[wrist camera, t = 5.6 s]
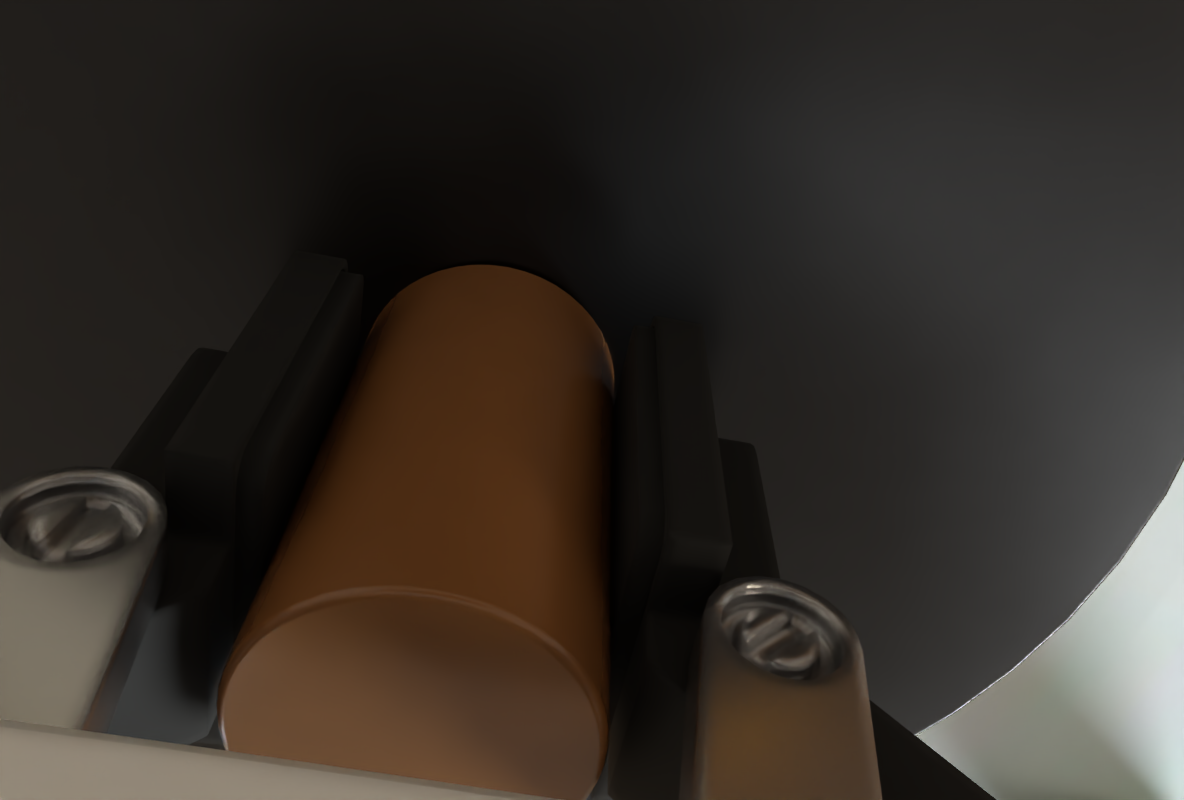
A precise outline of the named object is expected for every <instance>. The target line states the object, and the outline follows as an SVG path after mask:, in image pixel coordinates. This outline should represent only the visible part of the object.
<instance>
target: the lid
mask: <svg viewBox="0 0 1184 800" xmlns="http://www.w3.org/2000/svg"><path fill="white" fill-rule="evenodd" d="M296 250H299V251H305V252H310V253H316V254H321V255H327V256H332V257H338V258H343V259H346V260H347V263H348V272H349V273H354V274H360V275H363V278H364V288H363V300H362V312H361V324H360V335H359V347H358V359H357V362H356V365H355V367H354V369H353V372H352V374H351V376H350V379H349V381H348V383H347V385H346V388H345V390H344V392H343V395H342V397H341V399H340V402H339V404H338V406H337V408H336V411H335V413H334V415H333V418H332V420H331V422H330V425H329V427H328V429H327V431H326V434H325V436H324V438H323V441H322V443H321V445H320V448H319V450H318V452H317V454H316V457H315V459H314V461H313V464H312V466H311V468H310V471H309V473H308V475H307V477H306V480H305V482H304V484H303V487H302V489H301V491H300V494H299V496H298V498H297V500H296V503H295V505H294V507H293V510H292V512H291V514H290V516H289V519H288V521H287V523H286V526H285V528H284V530H283V533H282V535H281V537H280V539H279V542H278V544H277V546H276V549H275V551H274V553H273V556H272V558H271V560H270V562H269V565H268V567H267V569H266V572H265V574H264V576H263V579H262V581H261V583H260V585H259V588H258V590H257V592H256V595H255V597H254V599H253V602H252V604H251V606H250V608H249V611H248V613H247V615H246V618H245V620H244V622H243V625H242V627H241V629H240V631H239V634H238V636H237V638H236V641H235V643H234V645H233V648H232V650H231V652H230V654H229V657H228V659H227V661H226V664H225V666H224V668H223V671H222V675H221V678H220V681H219V684H218V691H217V700H216V707H217V718H218V728H219V731H220V735H221V738H222V742H223V745H224V746H220V745H214V744H207V743H200V742H193V743H191V744H189V745H190V746H197V747H204V748H211V749H218V750H225V751H232V752H239V753H246V754H253V755H260V756H267V757H273V758H280V759H287V760H294V761H301V762H308V763H315V764H322V765H329V766H336V767H342V768H349V769H356V770H363V771H370V772H377V773H384V774H391V775H397V776H404V777H411V778H418V779H425V780H432V781H438V782H445V783H452V784H459V785H466V786H472V787H479V788H486V789H493V790H500V791H506V792H513V793H520V794H527V795H534V796H541V797H547V798H554V799H561V800H591V796H592V790H593V788H594V786H595V785H596V783H597V781H598V780H599V778H600V775H601V773H602V771H603V768H604V766H605V763H606V759H607V754H608V749H609V735H610V657H611V572H612V494H613V417H614V404H615V399H616V395H617V391H618V387H619V383H620V379H621V374H622V370H623V366H624V362H625V358H626V354H627V349H628V345H629V341H630V337H631V333H632V330H633V327H634V325H639V326H645V327H650V326H651V323H652V320H653V318H654V316H659V317H665V318H670V319H675V320H681V321H686V322H692V323H697V324H702V327H703V332H704V340H705V347H706V354H707V361H708V369H709V376H710V383H711V390H712V398H713V405H714V412H715V419H716V427H717V434H718V438H723V439H729V440H735V441H740V442H746V443H751V444H752V445H754V447H755V450H756V453H757V458H758V463H759V469H760V474H761V479H762V484H763V490H764V495H765V500H766V506H767V511H768V516H769V521H770V527H771V532H772V537H773V542H774V548H775V553H776V558H777V563H778V569H779V574H780V579H783V580H786V581H789V582H792V583H795V584H798V585H801V586H804V587H806V588H807V589H809V590H811V591H813V592H815V593H816V594H818V595H820V596H822V597H824V598H825V599H827V600H828V601H829V602H830V603H831V604H832V605H834V606H835V607H836V608H837V609H838V610H839V611H841V612H842V613H843V614H844V615H845V617H846V618H847V619H848V621H849V622H850V624H851V625H852V626H853V628H854V629H855V630H856V632H857V635H858V638H859V641H860V644H861V647H862V650H863V657H864V665H865V672H866V680H867V687H868V695H869V699H870V700H871V701H872V702H873V703H875V704H876V705H877V706H878V707H880V708H881V709H882V710H883V711H885V712H886V713H887V714H889V715H890V716H891V717H892V718H894V719H895V720H896V721H897V722H899V723H900V724H901V725H902V726H904V727H905V728H906V729H908V730H909V731H910V732H911V733H913V734H914V735H915V736H916V735H917V734H919V733H921V732H923V731H924V730H926V729H928V728H930V727H931V726H933V725H935V724H937V723H938V722H940V721H942V720H943V719H945V718H947V717H949V716H950V715H952V714H954V713H955V712H957V711H958V710H959V709H961V708H962V707H963V706H965V705H966V704H968V703H969V702H970V701H972V700H973V699H974V698H976V697H977V696H979V695H980V694H981V693H983V692H984V691H985V690H987V689H988V688H990V687H991V686H992V685H994V684H995V683H997V682H998V681H999V680H1001V679H1002V678H1003V677H1005V676H1006V675H1008V674H1009V673H1010V672H1012V671H1013V670H1014V669H1015V668H1016V667H1018V666H1019V665H1020V664H1021V663H1022V662H1023V661H1024V660H1025V659H1026V658H1027V657H1029V656H1030V655H1031V654H1032V653H1033V652H1034V651H1035V650H1036V649H1037V648H1039V647H1040V646H1041V645H1042V644H1043V643H1044V642H1045V641H1046V640H1047V639H1048V638H1050V637H1051V636H1052V635H1053V634H1054V633H1055V632H1056V631H1057V630H1058V629H1060V628H1061V627H1062V626H1063V625H1064V624H1065V623H1066V622H1067V621H1068V620H1069V619H1070V618H1071V617H1072V616H1073V615H1074V614H1075V613H1076V611H1077V610H1078V609H1079V608H1080V607H1081V606H1082V605H1083V603H1084V602H1085V601H1086V600H1087V599H1088V598H1089V597H1090V596H1091V594H1092V593H1093V592H1094V591H1095V590H1096V589H1097V588H1098V586H1099V585H1100V584H1101V583H1102V582H1103V581H1104V580H1105V578H1106V577H1107V576H1108V575H1109V574H1110V573H1111V572H1112V570H1113V569H1114V568H1115V567H1116V566H1117V565H1118V564H1119V563H1120V561H1121V560H1122V558H1123V557H1124V556H1125V554H1126V553H1127V551H1128V550H1129V548H1130V547H1131V545H1132V544H1133V542H1134V541H1135V539H1136V538H1137V537H1138V535H1139V534H1140V532H1141V531H1142V529H1143V528H1144V526H1145V525H1146V523H1147V522H1148V520H1149V519H1150V518H1151V516H1152V515H1153V513H1154V512H1155V510H1156V509H1157V507H1158V506H1159V504H1160V503H1161V502H1162V500H1163V499H1164V497H1165V496H1166V494H1167V492H1168V490H1169V488H1170V486H1171V484H1172V482H1173V480H1174V478H1175V476H1176V474H1177V472H1178V471H1179V469H1180V467H1181V465H1182V463H1183V461H1184V0H0V492H1V491H2V490H4V489H6V488H7V487H9V486H11V485H12V484H14V483H16V482H17V481H19V480H21V479H24V478H27V477H30V476H33V475H36V474H38V473H41V472H44V471H48V470H54V469H61V468H67V467H73V466H90V467H106V468H111V467H112V465H113V464H114V462H115V461H116V460H117V458H118V457H119V455H120V454H121V453H122V451H123V450H124V448H125V447H126V446H127V444H128V443H129V441H130V440H131V439H132V437H133V436H134V434H135V433H136V432H137V430H138V429H139V427H140V426H141V425H142V423H143V422H144V420H145V419H146V418H147V416H148V415H149V413H150V412H151V411H152V409H153V408H154V406H155V405H156V404H157V402H158V401H159V399H160V398H161V397H162V395H163V394H164V392H165V391H166V390H167V388H168V387H169V385H170V384H171V383H172V381H173V380H174V378H175V377H176V376H177V374H178V373H179V371H180V370H181V369H182V367H183V366H184V364H185V363H186V362H187V360H188V359H189V357H190V356H191V355H192V354H193V353H194V352H195V351H196V350H197V349H198V348H203V347H204V348H209V349H215V350H221V351H227V352H229V350H230V349H231V347H232V346H233V344H234V342H235V341H236V339H237V338H238V336H239V335H240V333H241V332H242V330H243V329H244V327H245V326H246V324H247V323H248V321H249V320H250V318H251V317H252V315H253V313H254V312H255V310H256V309H257V307H258V306H259V304H260V303H261V301H262V300H263V298H264V297H265V295H266V294H267V292H268V291H269V289H270V288H271V286H272V285H273V283H274V281H275V280H276V278H277V277H278V275H279V274H280V272H281V271H282V269H283V268H284V266H285V265H286V263H287V262H288V260H289V259H290V257H291V256H292V254H293V253H294V252H295V251H296Z"/></svg>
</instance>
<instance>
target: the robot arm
mask: <svg viewBox="0 0 1184 800" xmlns="http://www.w3.org/2000/svg"><path fill="white" fill-rule="evenodd" d="M363 288H364V278H363V275H360V274H354V273H349V272H348V263H347V260H346V259H343V258H338V257H332V256H327V255H321V254H316V253H310V252H305V251H299V250H296V251H295V252H294V253H293V254H292V256H291V257H290V259H289V260H288V262H287V263H286V265H285V266H284V268H283V269H282V271H281V272H280V274H279V275H278V277H277V278H276V280H275V281H274V283H273V285H272V286H271V288H270V289H269V291H268V292H267V294H266V295H265V297H264V298H263V300H262V301H261V303H260V304H259V306H258V307H257V309H256V310H255V312H254V313H253V315H252V317H251V318H250V320H249V321H248V323H247V324H246V326H245V327H244V329H243V330H242V332H241V333H240V335H239V336H238V338H237V339H236V341H235V342H234V344H233V346H232V347H231V349H230V350H229V352H227V351H221V350H215V349H209V348H204V347H203V348H198V349H197V350H196V351H195V352H194V353H193V354H192V355H191V356H190V357H189V359H188V360H187V362H186V363H185V364H184V366H183V367H182V369H181V370H180V371H179V373H178V374H177V376H176V377H175V378H174V380H173V381H172V383H171V384H170V385H169V387H168V388H167V390H166V391H165V392H164V394H163V395H162V397H161V398H160V399H159V401H158V402H157V404H156V405H155V406H154V408H153V409H152V411H151V412H150V413H149V415H148V416H147V418H146V419H145V420H144V422H143V423H142V425H141V426H140V427H139V429H138V430H137V432H136V433H135V434H134V436H133V437H132V439H131V440H130V441H129V443H128V444H127V446H126V447H125V448H124V450H123V451H122V453H121V454H120V455H119V457H118V458H117V460H116V461H115V462H114V464H113V465H112V467H111V468H106V467H90V466H73V467H67V468H61V469H54V470H48V471H44V472H41V473H38V474H36V475H33V476H30V477H27V478H24V479H21V480H19V481H17V482H16V483H14V484H12V485H11V486H9V487H7V488H6V489H4V490H2V491H1V492H0V800H561V799H554V798H547V797H541V796H534V795H527V794H520V793H513V792H506V791H500V790H493V789H486V788H479V787H472V786H466V785H459V784H452V783H445V782H438V781H432V780H425V779H418V778H411V777H404V776H397V775H391V774H384V773H377V772H370V771H363V770H356V769H349V768H342V767H336V766H329V765H322V764H315V763H308V762H301V761H294V760H287V759H280V758H273V757H267V756H260V755H253V754H246V753H239V752H232V751H225V750H218V749H211V748H204V747H197V746H190V745H189V744H191V743H193V742H200V743H207V744H214V745H220V746H224V745H223V742H222V738H221V735H220V731H219V728H218V718H217V707H216V700H217V691H218V684H219V681H220V678H221V675H222V671H223V668H224V666H225V664H226V661H227V659H228V657H229V654H230V652H231V650H232V648H233V645H234V643H235V641H236V638H237V636H238V634H239V631H240V629H241V627H242V625H243V622H244V620H245V618H246V615H247V613H248V611H249V608H250V606H251V604H252V602H253V599H254V597H255V595H256V592H257V590H258V588H259V585H260V583H261V581H262V579H263V576H264V574H265V572H266V569H267V567H268V565H269V562H270V560H271V558H272V556H273V553H274V551H275V549H276V546H277V544H278V542H279V539H280V537H281V535H282V533H283V530H284V528H285V526H286V523H287V521H288V519H289V516H290V514H291V512H292V510H293V507H294V505H295V503H296V500H297V498H298V496H299V494H300V491H301V489H302V487H303V484H304V482H305V480H306V477H307V475H308V473H309V471H310V468H311V466H312V464H313V461H314V459H315V457H316V454H317V452H318V450H319V448H320V445H321V443H322V441H323V438H324V436H325V434H326V431H327V429H328V427H329V425H330V422H331V420H332V418H333V415H334V413H335V411H336V408H337V406H338V404H339V402H340V399H341V397H342V395H343V392H344V390H345V388H346V385H347V383H348V381H349V379H350V376H351V374H352V372H353V369H354V367H355V365H356V362H357V359H358V347H359V335H360V324H361V312H362V300H363ZM591 800H996V799H995V798H994V797H992V796H991V795H990V794H989V793H987V792H986V791H985V790H983V789H982V788H981V787H980V786H978V785H977V784H976V783H975V782H973V781H972V780H971V779H970V778H968V777H967V776H966V775H964V774H963V773H962V772H961V771H959V770H958V769H957V768H956V767H954V766H953V765H952V764H951V763H949V762H948V761H947V760H945V759H944V758H943V757H942V756H940V755H939V754H938V753H937V752H935V751H934V750H933V749H932V748H930V747H929V746H928V745H926V744H925V743H924V742H923V741H921V740H920V739H919V738H918V737H916V736H915V735H914V734H913V733H911V732H910V731H909V730H908V729H906V728H905V727H904V726H902V725H901V724H900V723H899V722H897V721H896V720H895V719H894V718H892V717H891V716H890V715H889V714H887V713H886V712H885V711H883V710H882V709H881V708H880V707H878V706H877V705H876V704H875V703H873V702H872V701H871V700H870V699H869V695H868V687H867V680H866V672H865V665H864V657H863V650H862V647H861V644H860V641H859V638H858V635H857V632H856V630H855V629H854V628H853V626H852V625H851V624H850V622H849V621H848V619H847V618H846V617H845V615H844V614H843V613H842V612H841V611H839V610H838V609H837V608H836V607H835V606H834V605H832V604H831V603H830V602H829V601H828V600H827V599H825V598H824V597H822V596H820V595H818V594H816V593H815V592H813V591H811V590H809V589H807V588H806V587H804V586H801V585H798V584H795V583H792V582H789V581H786V580H783V579H780V574H779V569H778V563H777V558H776V553H775V548H774V542H773V537H772V532H771V527H770V521H769V516H768V511H767V506H766V500H765V495H764V490H763V484H762V479H761V474H760V469H759V463H758V458H757V453H756V450H755V447H754V445H752V444H751V443H746V442H740V441H735V440H729V439H723V438H718V434H717V427H716V419H715V412H714V405H713V398H712V390H711V383H710V376H709V369H708V361H707V354H706V347H705V340H704V332H703V327H702V324H697V323H692V322H686V321H681V320H675V319H670V318H665V317H659V316H654V318H653V320H652V323H651V326H650V327H645V326H639V325H634V327H633V330H632V333H631V337H630V341H629V345H628V349H627V354H626V358H625V362H624V366H623V370H622V374H621V379H620V383H619V387H618V391H617V395H616V399H615V404H614V417H613V494H612V572H611V657H610V735H609V749H608V754H607V759H606V763H605V766H604V768H603V771H602V773H601V775H600V778H599V780H598V781H597V783H596V785H595V786H594V788H593V790H592V796H591Z"/></svg>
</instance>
